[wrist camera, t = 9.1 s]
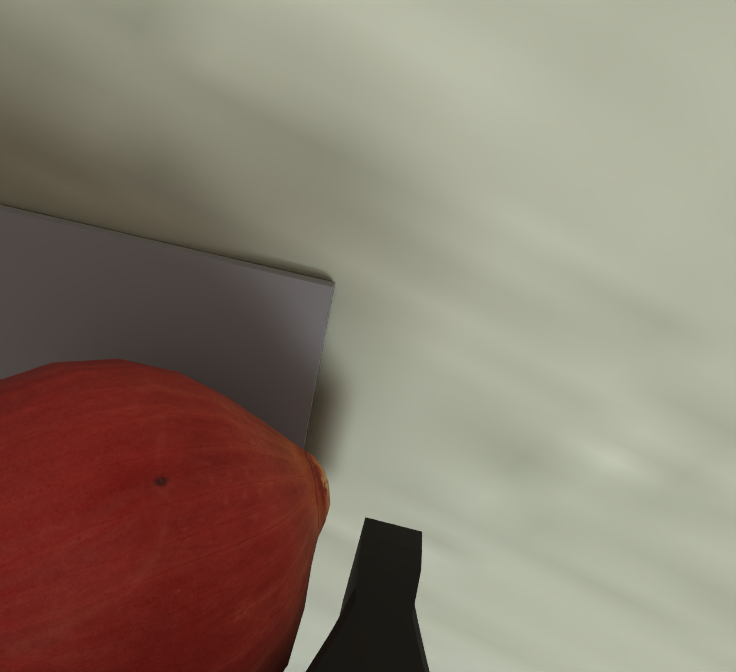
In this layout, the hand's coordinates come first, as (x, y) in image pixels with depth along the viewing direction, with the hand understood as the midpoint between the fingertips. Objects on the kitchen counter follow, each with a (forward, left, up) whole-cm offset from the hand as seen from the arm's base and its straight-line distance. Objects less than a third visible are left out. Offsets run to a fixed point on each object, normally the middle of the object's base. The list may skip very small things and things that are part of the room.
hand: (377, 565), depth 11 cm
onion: (+1, +1, -1) cm, 2 cm away
